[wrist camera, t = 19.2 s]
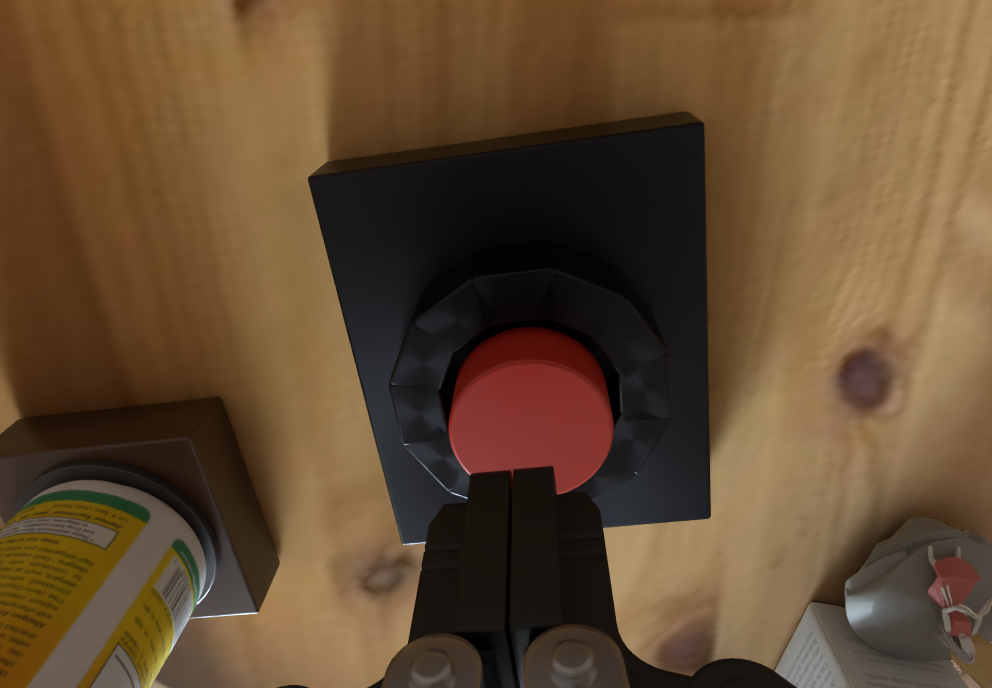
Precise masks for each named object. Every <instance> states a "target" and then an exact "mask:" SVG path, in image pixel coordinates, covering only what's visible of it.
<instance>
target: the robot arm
mask: <svg viewBox="0 0 992 688" xmlns="http://www.w3.org/2000/svg"><path fill="white" fill-rule="evenodd" d="M278 688H308V687H305V686H300V685H288V686H282V687H278ZM368 688H797V687H796V686H794V685H793V684H791V683H790V682H789V681H787V680H786V679H784V678H783V677H782V676H780V675H779V674H778V673H776V672H774V671H773V670H771V669H770V668H768V667H766V666H764V665H762V664H759V663H756V662H753V661H750V660H745V659H735V658H729V659H721V660H717V661H713V662H711V663H709V664H706V665H705V666H703V667H702V668H700V669H699V670H698V671H697V672H696V673H695V674H694V675H693V676H692V677H691V676H687V675H682V674H678V673H674V672H669V671H665V670H662V669H659V668H656V667H654V666H651V665H649V664H647V663H646V662H644V661H642V660H641V659H639V658H638V657H637V656H635V655H634V654H633V653H632V652H631V651H630V650H629V649H628V648H627V647H626V645H625V644H624V642H623V641H622V639H621V637H620V634H619V632H618V628H617V623H616V616H615V609H614V602H613V595H612V588H611V581H610V574H609V567H608V560H607V554H606V547H605V540H604V533H603V526H602V519H601V512H600V509H599V508H598V507H597V505H596V504H595V503H594V502H593V500H592V499H591V498H590V497H589V495H588V494H587V493H586V492H575V493H564V494H557V489H556V481H555V473H554V467H553V466H543V467H532V468H521V469H514V470H513V476H512V472H511V470H502V471H491V472H480V473H471V474H470V479H469V488H468V497H467V502H464V503H452V504H444V505H443V506H442V508H441V509H440V510H439V512H438V513H437V514H436V516H435V517H434V519H433V520H432V521H431V523H430V524H429V527H428V533H427V539H426V544H425V552H424V556H423V561H422V571H421V573H420V578H419V584H418V590H417V595H416V601H415V607H414V612H413V618H412V624H411V629H410V635H409V640H408V644H407V645H406V646H405V647H403V648H402V649H401V650H400V651H399V652H398V653H397V654H396V655H395V656H394V658H393V659H392V660H391V662H390V664H389V665H388V667H387V670H386V673H385V676H384V678H382V679H381V680H380V681H378V682H377V683H375V684H373V685H372V686H370V687H368Z"/></svg>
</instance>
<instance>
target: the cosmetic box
mask: <svg viewBox="0 0 992 688" xmlns="http://www.w3.org/2000/svg"><path fill="white" fill-rule="evenodd" d="M774 672H776V673H778V674H779V675H780V676H782V677H783V678H784V679H786V680H787V681H789V682H790V683H791V684H793V685H794V686H796V687H797V688H968V687H967V685H966V684H965V682H964V681H963V679H962V678H961V676H960V675H959V673H958V672H957V670H956V669H955V667H954V666H953V664H952V663H951V661H950V660H941V661H917V660H909V659H902V658H898V657H894V656H891V655H888V654H885V653H883V652H880V651H878V650H876V649H874V648H872V647H871V646H869V645H868V644H866V643H865V642H864V641H862V640H861V639H860V638H859V637H858V636H857V634H856V633H855V632H854V630H853V629H852V627H851V625H850V623H849V620H848V617H847V613H846V609H845V607H840V606H835V605H829V604H823V603H816V602H812V603H810V604H809V605H808V607H807V609H806V611H805V613H804V615H803V617H802V619H801V621H800V623H799V625H798V627H797V629H796V631H795V633H794V635H793V636H792V638H791V640H790V642H789V644H788V646H787V648H786V650H785V652H784V654H783V656H782V658H781V659H780V661H779V663H778V665H777V667H776V669H775V671H774Z"/></svg>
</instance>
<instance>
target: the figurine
mask: <svg viewBox="0 0 992 688" xmlns="http://www.w3.org/2000/svg"><path fill="white" fill-rule="evenodd" d="M845 609H846V613H847V617H848V620H849V623H850V625H851V627H852V629H853V630H854V632H855V633H856V634H857V636H858V637H859V638H860V639H861V640H862V641H864V642H865V643H866V644H868V645H869V646H871V647H872V648H874V649H876V650H878V651H880V652H883V653H885V654H888V655H891V656H894V657H898V658H902V659H909V660H917V661H941V660H951V659H953V660H954V661H955V662H956V663H957V664H958V665H959V666H960V667H961V668H962V669H963V670H964V671H965V672H966V673H967V674H968V675H969V676H970V677H971V678H972V679H973V680H974V681H975V682H976V683H977V684H978V685H979V686H980V687H981V688H992V644H991V643H990V642H992V543H991V542H990V541H988V540H987V539H985V538H984V537H982V536H981V535H979V534H978V533H976V532H974V531H973V530H961V531H960V530H958V529H956V528H953V527H951V526H949V525H947V524H944V523H942V522H940V521H938V520H935V519H932V518H925V517H918V516H915V517H912V518H911V519H909V520H908V521H906V522H905V523H904V524H903V525H902V526H901V527H900V528H899V530H898V531H897V532H896V533H895V534H894V535H893V536H892V537H891V538H889V539H886V540H884V541H881V542H879V543H877V544H876V545H875V546H874V548H873V550H872V552H871V554H870V556H869V558H867V560H866V562H865V563H864V564H863V566H862V567H861V569H860V570H859V572H858V573H856V574H855V575H853V576H852V577H850V578H849V579H847V581H846V583H845Z"/></svg>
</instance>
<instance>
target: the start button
mask: <svg viewBox="0 0 992 688" xmlns="http://www.w3.org/2000/svg"><path fill="white" fill-rule="evenodd" d="M613 434H614V422H613V416H612V411H611V406H610V401H609V396H608V391H607V386H606V382H605V377H604V374H603V371H602V369H601V367H600V365H599V363H598V361H597V360H596V359H595V357H594V356H593V354H592V353H591V352H590V351H589V350H588V349H587V348H586V347H585V346H584V345H582V344H581V343H580V342H579V341H577V340H575V339H574V338H572V337H571V336H568V335H566V334H564V333H562V332H559V331H556V330H552V329H548V328H543V327H519V328H513V329H509V330H506V331H502V332H500V333H497V334H495V335H493V336H491V337H489V338H488V339H486V340H484V341H483V342H482V343H480V344H479V345H478V346H477V347H475V348H474V349H473V351H472V352H471V353H470V354H469V355H468V356H467V358H466V359H465V361H464V362H463V364H462V366H461V368H460V370H459V373H458V376H457V380H456V385H455V390H454V396H453V401H452V407H451V412H450V418H449V438H450V443H451V446H452V449H453V451H454V454H455V456H456V458H457V459H458V461H459V462H460V464H461V466H462V467H463V468H464V469H465V470H466V472H467V473H468V474H469V475H470V474H471V473H480V472H491V471H502V470H511V472H512V476H513V470H514V469H521V468H532V467H543V466H553V467H554V473H555V481H556V489H557V494H562V493H565V492H568V491H570V490H572V489H574V488H576V487H578V486H579V485H581V484H582V483H584V482H585V481H587V480H588V479H589V478H590V477H591V476H593V475H594V473H595V472H596V471H597V470H598V469H599V468H600V466H601V465H602V463H603V462H604V460H605V459H606V457H607V455H608V453H609V451H610V448H611V444H612V441H613Z"/></svg>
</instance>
